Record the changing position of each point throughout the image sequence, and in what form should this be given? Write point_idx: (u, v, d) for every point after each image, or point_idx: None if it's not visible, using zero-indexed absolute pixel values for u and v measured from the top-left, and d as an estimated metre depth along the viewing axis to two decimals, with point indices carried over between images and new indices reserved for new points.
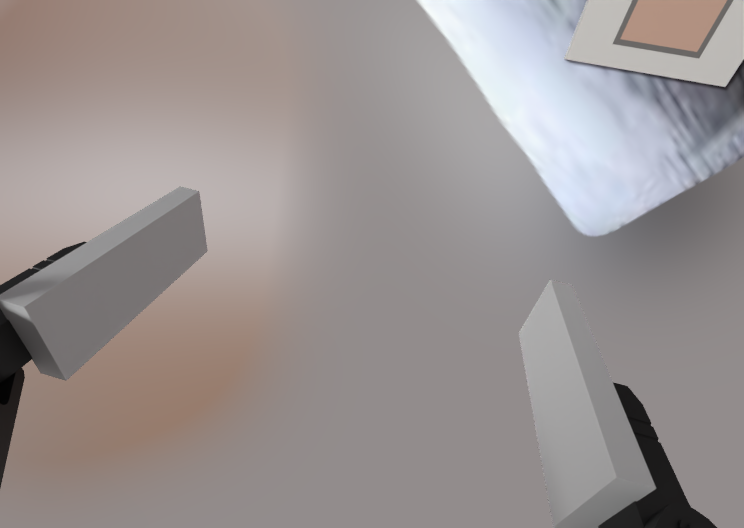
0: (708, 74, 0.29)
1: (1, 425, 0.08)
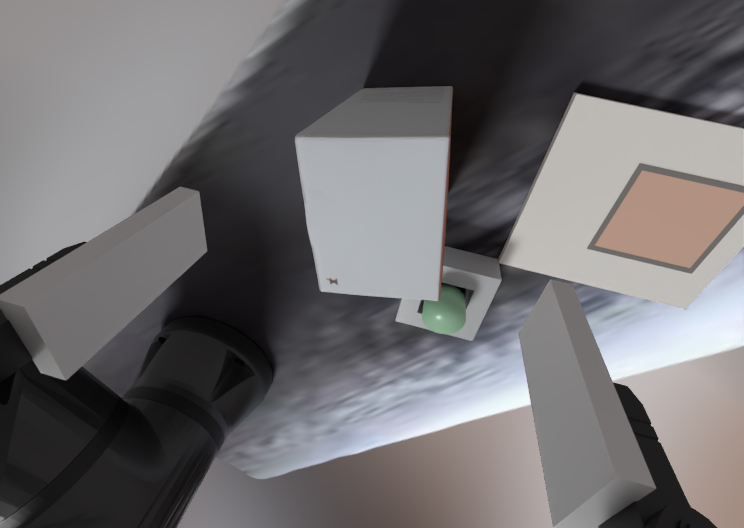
0: None
1: (1, 425, 0.08)
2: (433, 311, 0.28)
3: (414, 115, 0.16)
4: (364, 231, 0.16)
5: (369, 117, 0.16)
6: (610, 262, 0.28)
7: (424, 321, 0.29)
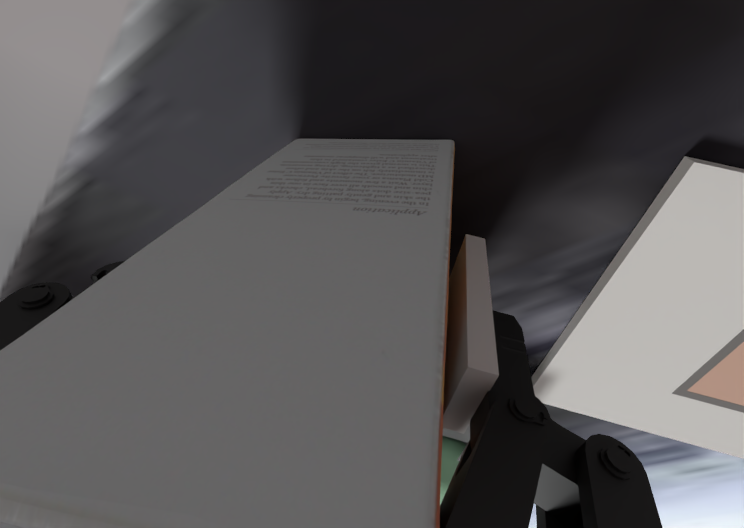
0: None
1: None
2: None
3: (340, 298, 0.06)
4: None
5: (209, 302, 0.06)
6: (709, 414, 0.17)
7: None
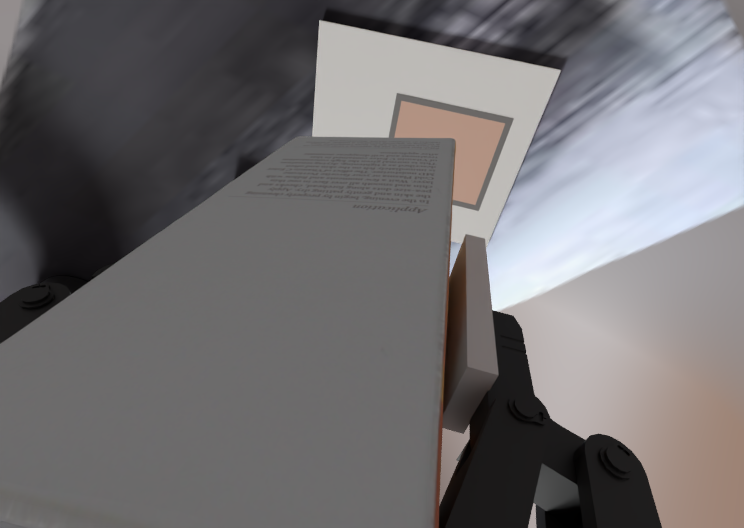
0: (537, 99, 0.22)
1: None
2: None
3: (339, 295, 0.05)
4: None
5: (207, 299, 0.05)
6: None
7: None
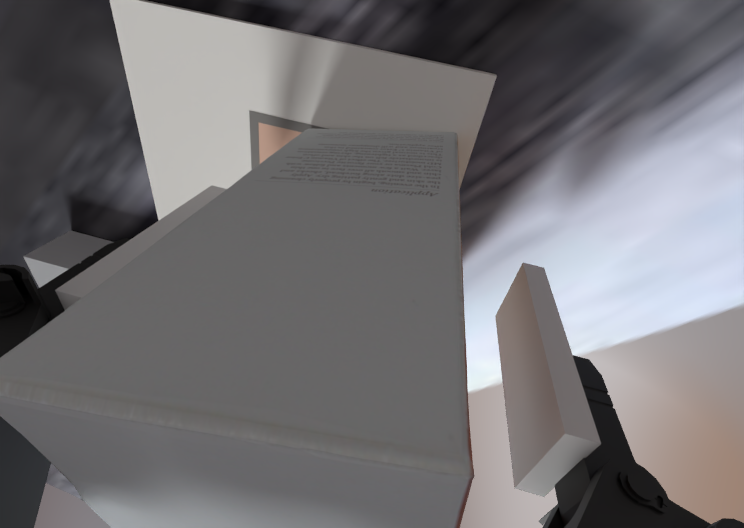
0: (463, 122, 0.14)
1: None
2: None
3: (371, 260, 0.06)
4: None
5: (256, 263, 0.06)
6: None
7: None
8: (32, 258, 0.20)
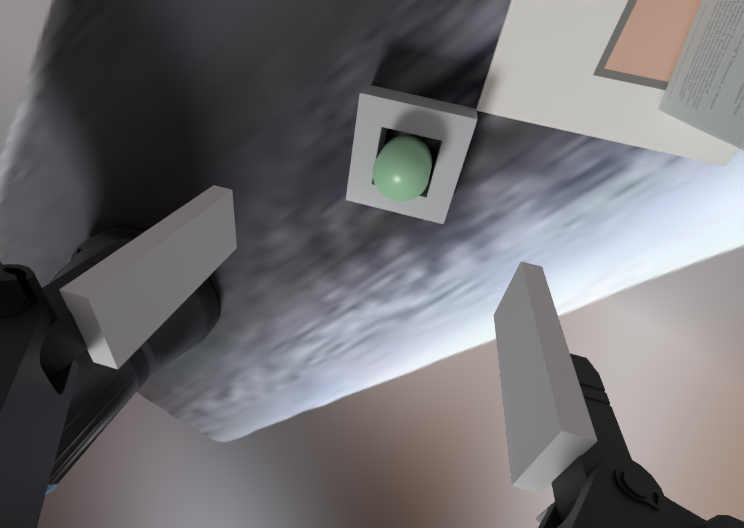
0: None
1: (56, 414, 0.08)
2: (386, 164, 0.21)
3: None
4: None
5: None
6: (625, 96, 0.20)
7: (376, 182, 0.22)
8: (367, 95, 0.21)
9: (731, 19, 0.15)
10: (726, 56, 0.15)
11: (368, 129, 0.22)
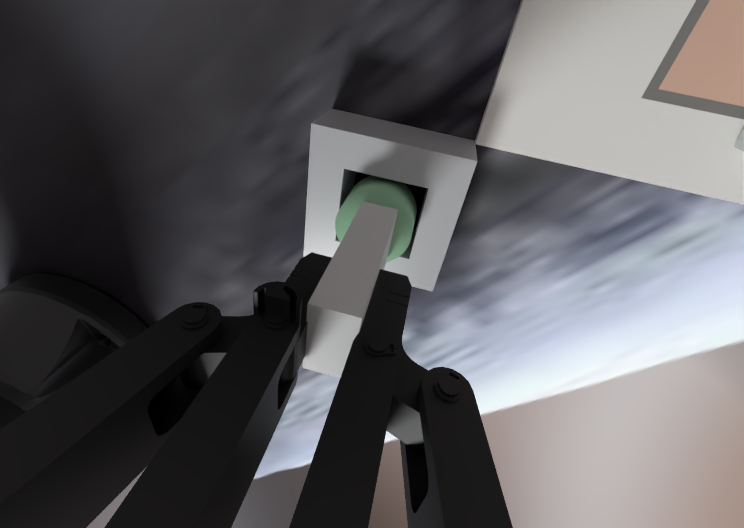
0: None
1: (270, 429, 0.09)
2: (353, 217, 0.15)
3: None
4: None
5: None
6: (686, 127, 0.14)
7: (341, 239, 0.16)
8: (322, 126, 0.15)
9: None
10: None
11: (326, 172, 0.16)
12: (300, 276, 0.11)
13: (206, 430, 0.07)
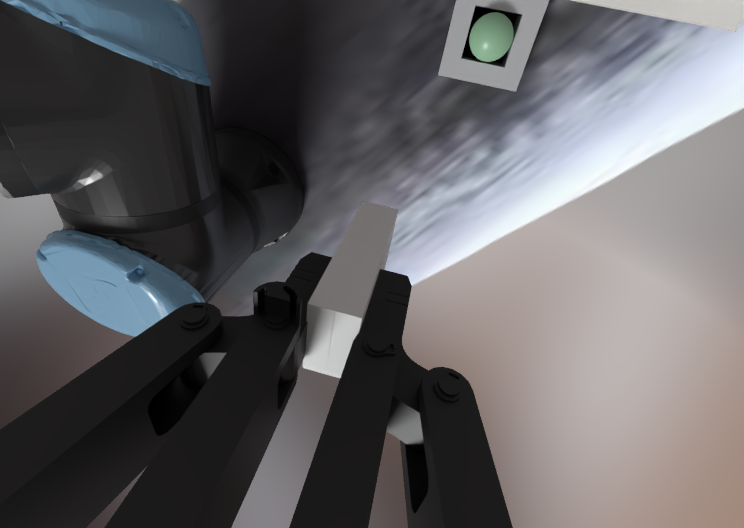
0: None
1: (270, 429, 0.09)
2: (481, 29, 0.29)
3: None
4: None
5: None
6: None
7: (471, 46, 0.30)
8: None
9: None
10: None
11: (464, 8, 0.29)
12: (300, 276, 0.11)
13: (206, 430, 0.07)
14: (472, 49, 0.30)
